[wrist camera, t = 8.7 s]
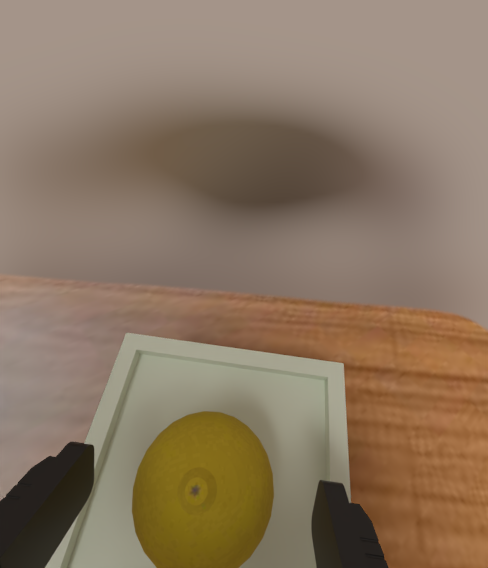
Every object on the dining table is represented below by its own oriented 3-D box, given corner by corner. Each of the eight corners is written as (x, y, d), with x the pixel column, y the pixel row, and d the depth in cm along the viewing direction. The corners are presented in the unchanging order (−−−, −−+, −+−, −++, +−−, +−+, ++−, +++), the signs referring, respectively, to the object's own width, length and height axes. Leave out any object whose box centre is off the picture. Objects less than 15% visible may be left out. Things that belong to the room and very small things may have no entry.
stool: (97, 582, 19) (-1, 666, 11) (158, 374, 27) (126, 332, 19) (305, 620, 19) (363, 736, 11) (308, 396, 26) (343, 363, 18)
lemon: (232, 405, 17) (232, 364, 11) (284, 505, 15) (327, 535, 8) (143, 459, 16) (76, 451, 9) (184, 581, 13) (135, 699, 6)
